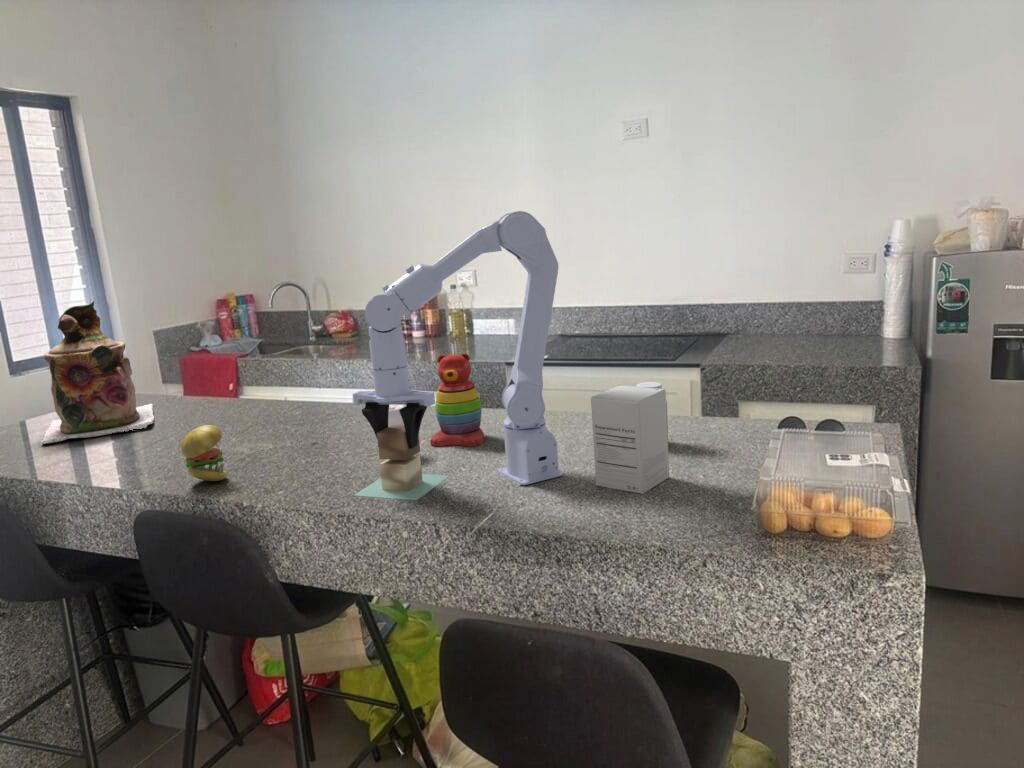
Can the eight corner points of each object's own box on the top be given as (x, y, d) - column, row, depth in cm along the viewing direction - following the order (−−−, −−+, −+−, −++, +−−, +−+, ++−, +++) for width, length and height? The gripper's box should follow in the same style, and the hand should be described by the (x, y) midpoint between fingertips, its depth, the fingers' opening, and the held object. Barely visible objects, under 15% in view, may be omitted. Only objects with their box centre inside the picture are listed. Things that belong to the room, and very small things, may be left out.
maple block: (422, 481, 129) (420, 456, 128) (408, 491, 125) (405, 465, 124) (397, 479, 131) (394, 454, 130) (382, 489, 126) (379, 463, 126)
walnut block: (420, 451, 128) (417, 425, 127) (405, 460, 124) (403, 433, 123) (394, 450, 130) (392, 425, 129) (379, 459, 126) (376, 433, 125)
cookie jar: (51, 426, 196) (26, 304, 190) (154, 411, 206) (134, 294, 200) (38, 448, 174) (10, 311, 168) (155, 429, 184) (131, 299, 178)
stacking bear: (427, 447, 151) (418, 359, 147) (443, 433, 160) (435, 351, 157) (479, 446, 148) (471, 358, 145) (492, 432, 158) (485, 349, 154)
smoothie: (378, 462, 143) (369, 390, 140) (375, 453, 149) (366, 384, 146) (411, 457, 144) (404, 386, 142) (407, 449, 150) (399, 380, 148)
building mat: (450, 477, 131) (449, 475, 131) (416, 501, 120) (416, 500, 120) (390, 473, 136) (390, 472, 135) (353, 497, 125) (353, 495, 125)
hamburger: (236, 480, 138) (226, 417, 136) (197, 492, 133) (186, 426, 131) (219, 473, 144) (209, 412, 141) (181, 483, 139) (170, 421, 137)
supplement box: (623, 469, 128) (619, 384, 125) (670, 477, 123) (667, 388, 119) (593, 486, 121) (588, 395, 118) (642, 495, 116) (638, 400, 113)
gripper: (338, 371, 123) (348, 451, 125) (416, 371, 117) (425, 455, 120) (362, 363, 129) (371, 439, 132) (437, 363, 124) (445, 442, 126)
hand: (398, 446), depth 126 cm, fingers closed on walnut block, 5 cm apart
